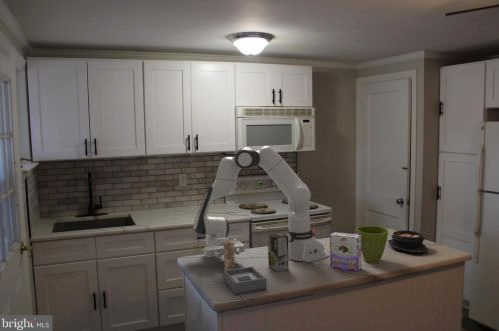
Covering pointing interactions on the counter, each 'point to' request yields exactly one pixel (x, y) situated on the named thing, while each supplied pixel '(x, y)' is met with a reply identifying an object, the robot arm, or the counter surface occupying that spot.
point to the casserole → (408, 241)
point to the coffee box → (278, 251)
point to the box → (244, 280)
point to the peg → (229, 255)
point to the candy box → (345, 251)
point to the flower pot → (372, 242)
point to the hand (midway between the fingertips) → (228, 254)
